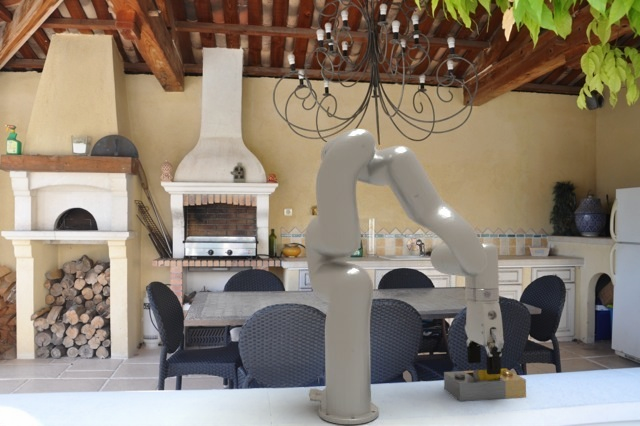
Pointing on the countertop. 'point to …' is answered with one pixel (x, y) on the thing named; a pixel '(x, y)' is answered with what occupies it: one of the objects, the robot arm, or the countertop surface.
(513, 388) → the metal strike plate
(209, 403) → the countertop surface
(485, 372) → the yellow tiered cone
